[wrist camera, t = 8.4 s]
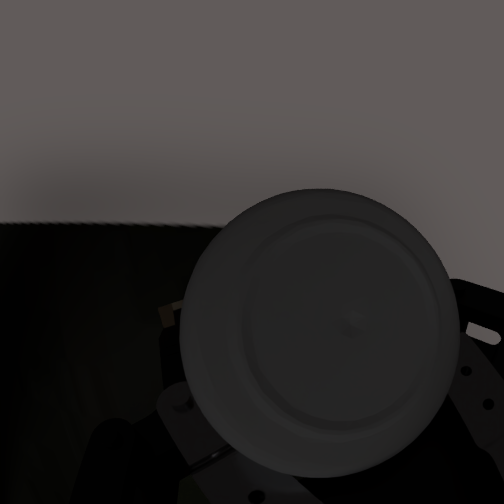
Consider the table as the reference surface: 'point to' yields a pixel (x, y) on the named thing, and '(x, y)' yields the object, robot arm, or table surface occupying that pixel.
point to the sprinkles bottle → (319, 333)
